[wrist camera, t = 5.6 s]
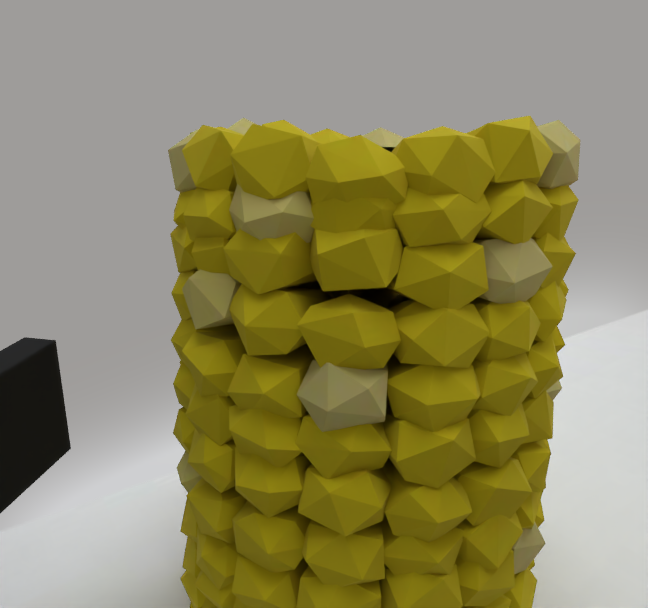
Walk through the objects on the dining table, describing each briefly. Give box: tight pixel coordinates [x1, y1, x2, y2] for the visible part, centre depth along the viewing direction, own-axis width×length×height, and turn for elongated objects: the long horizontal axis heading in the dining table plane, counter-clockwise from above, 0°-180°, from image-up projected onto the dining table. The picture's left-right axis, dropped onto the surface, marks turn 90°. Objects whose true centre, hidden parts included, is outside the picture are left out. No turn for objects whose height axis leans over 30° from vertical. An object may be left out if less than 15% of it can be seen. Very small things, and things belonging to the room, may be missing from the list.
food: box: [168, 116, 580, 608], centre depth 16 cm, size 15×12×10 cm
